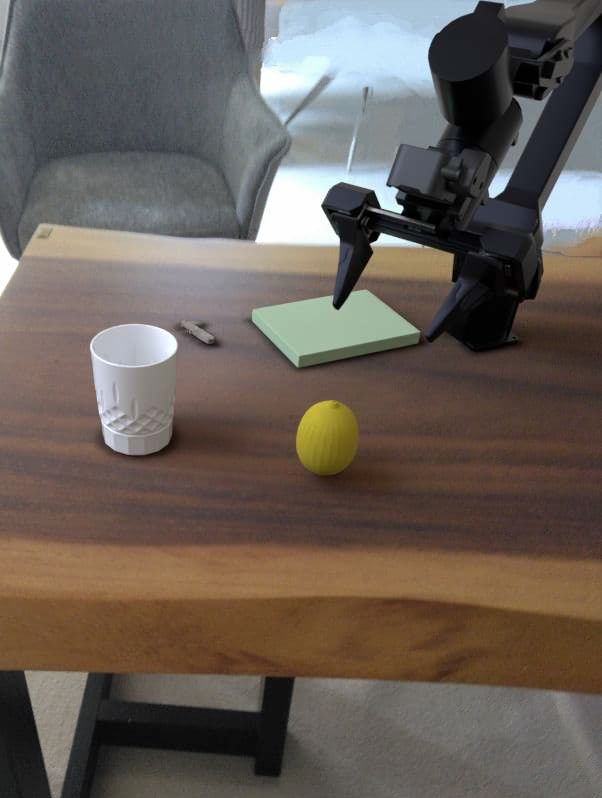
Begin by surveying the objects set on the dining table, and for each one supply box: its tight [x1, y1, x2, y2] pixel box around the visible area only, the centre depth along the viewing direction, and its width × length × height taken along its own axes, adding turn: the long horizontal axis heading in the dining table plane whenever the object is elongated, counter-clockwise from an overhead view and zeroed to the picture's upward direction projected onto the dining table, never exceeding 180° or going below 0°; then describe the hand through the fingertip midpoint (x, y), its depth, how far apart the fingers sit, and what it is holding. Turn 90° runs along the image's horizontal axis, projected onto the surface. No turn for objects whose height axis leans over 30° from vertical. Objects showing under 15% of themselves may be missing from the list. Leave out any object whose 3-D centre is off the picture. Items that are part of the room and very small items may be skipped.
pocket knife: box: [180, 319, 215, 345], centre depth 93 cm, size 6×1×3 cm
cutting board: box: [251, 288, 421, 369], centre depth 94 cm, size 16×12×2 cm
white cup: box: [89, 323, 179, 456], centre depth 75 cm, size 8×8×10 cm
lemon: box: [295, 399, 360, 477], centre depth 71 cm, size 6×6×8 cm
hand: (380, 323), depth 69 cm, fingers open, 9 cm apart
